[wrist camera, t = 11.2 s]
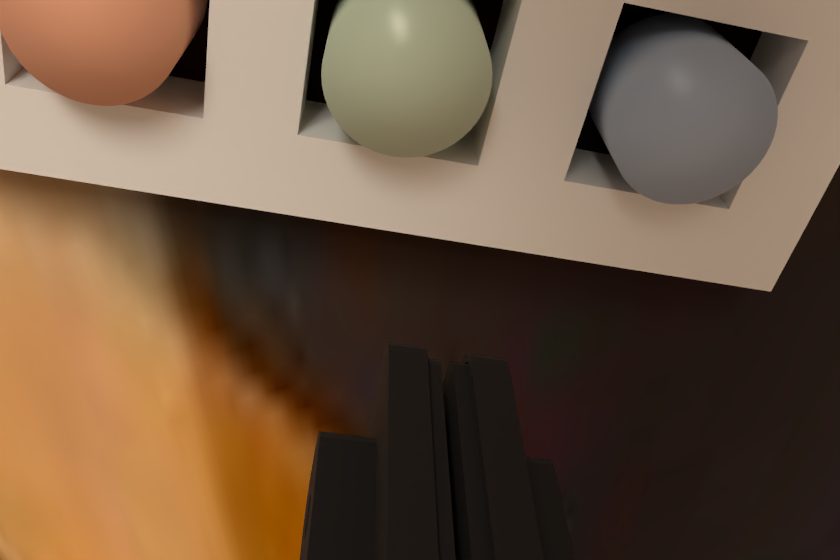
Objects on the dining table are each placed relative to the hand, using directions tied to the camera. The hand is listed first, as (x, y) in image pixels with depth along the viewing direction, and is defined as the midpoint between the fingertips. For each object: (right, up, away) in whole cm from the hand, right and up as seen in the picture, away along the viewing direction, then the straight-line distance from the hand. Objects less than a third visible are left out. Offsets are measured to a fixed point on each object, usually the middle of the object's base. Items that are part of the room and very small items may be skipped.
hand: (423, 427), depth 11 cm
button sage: (-1, +10, +15) cm, 19 cm away
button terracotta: (-9, +11, +14) cm, 21 cm away
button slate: (+8, +9, +17) cm, 20 cm away
